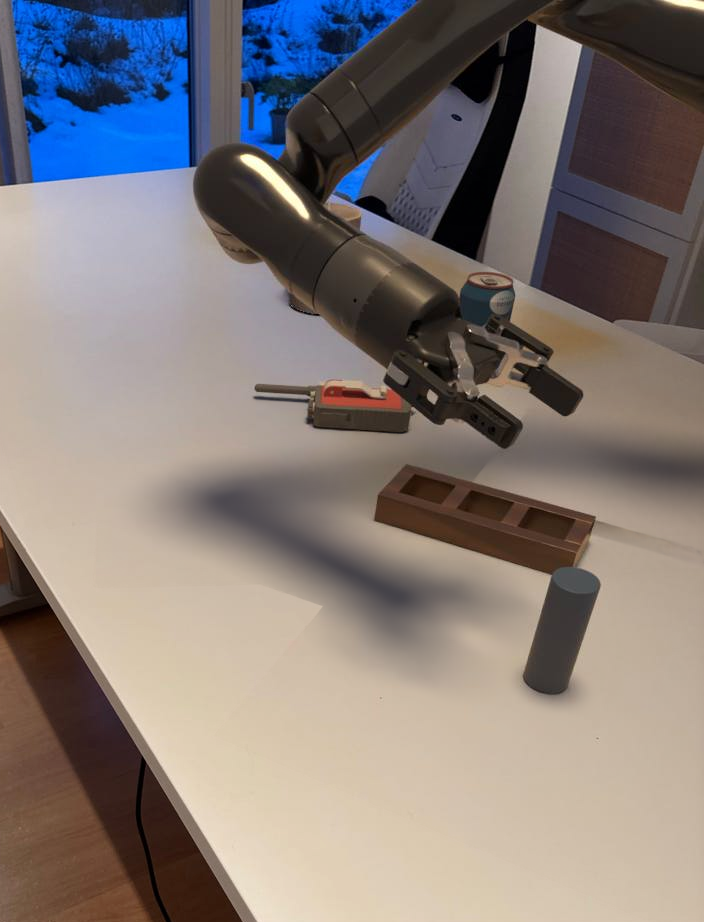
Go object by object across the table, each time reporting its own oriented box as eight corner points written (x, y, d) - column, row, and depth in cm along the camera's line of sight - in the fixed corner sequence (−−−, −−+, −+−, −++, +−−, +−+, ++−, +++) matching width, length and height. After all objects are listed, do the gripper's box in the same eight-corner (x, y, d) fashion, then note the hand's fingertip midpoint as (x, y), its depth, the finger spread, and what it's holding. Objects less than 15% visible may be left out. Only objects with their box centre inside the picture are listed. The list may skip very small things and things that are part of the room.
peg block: (402, 488, 103) (406, 463, 101) (588, 542, 95) (596, 516, 93) (374, 520, 98) (377, 494, 96) (568, 579, 90) (577, 552, 88)
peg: (572, 674, 79) (605, 575, 73) (561, 699, 77) (594, 599, 70) (530, 660, 80) (558, 561, 74) (517, 684, 78) (546, 584, 72)
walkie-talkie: (413, 404, 120) (254, 394, 121) (418, 370, 117) (256, 360, 118) (418, 435, 113) (249, 424, 114) (423, 400, 110) (251, 389, 111)
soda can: (505, 379, 126) (525, 288, 119) (454, 379, 126) (471, 287, 118) (490, 359, 132) (509, 270, 124) (441, 359, 131) (456, 270, 124)
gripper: (342, 278, 69) (518, 404, 63) (455, 245, 77) (620, 354, 71) (312, 367, 74) (471, 491, 68) (420, 327, 82) (570, 435, 76)
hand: (547, 421), depth 70 cm, fingers open, 8 cm apart
